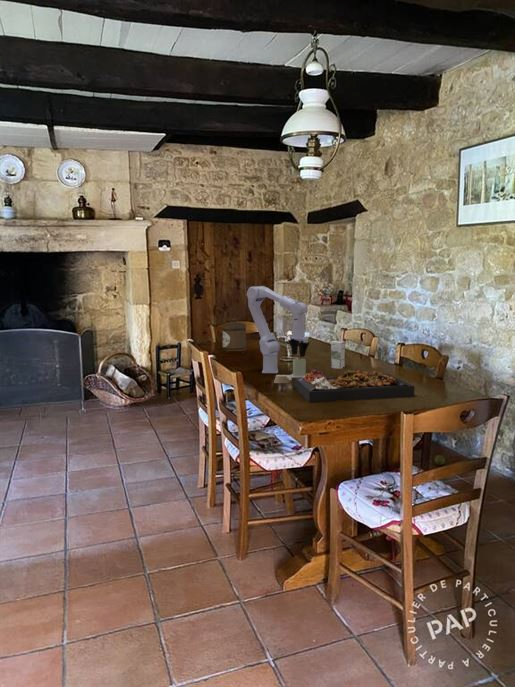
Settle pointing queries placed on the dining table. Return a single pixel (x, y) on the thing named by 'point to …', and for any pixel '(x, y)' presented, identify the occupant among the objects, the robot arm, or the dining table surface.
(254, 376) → the dining table surface
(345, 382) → the food platter
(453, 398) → the dining table surface
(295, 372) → the grey green block
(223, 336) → the brown lidded canister
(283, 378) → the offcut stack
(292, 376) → the mat
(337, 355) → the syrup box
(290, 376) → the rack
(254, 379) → the dining table surface
